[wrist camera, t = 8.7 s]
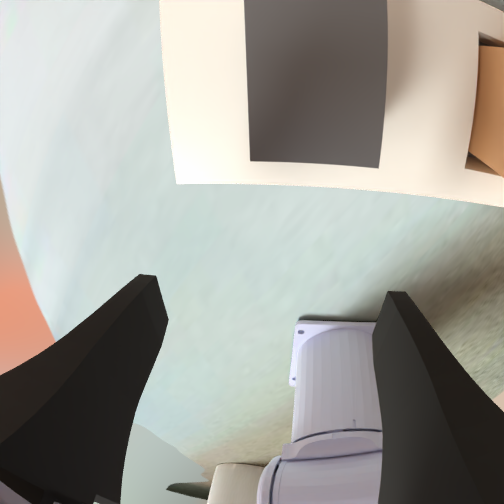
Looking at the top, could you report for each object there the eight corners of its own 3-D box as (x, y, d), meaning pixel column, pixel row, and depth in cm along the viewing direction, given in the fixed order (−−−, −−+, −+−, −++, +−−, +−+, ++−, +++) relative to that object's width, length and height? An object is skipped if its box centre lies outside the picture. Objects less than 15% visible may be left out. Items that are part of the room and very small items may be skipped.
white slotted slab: (548, 55, 8) (624, 78, 2) (528, 192, 14) (587, 251, 8) (185, -11, 11) (116, -43, 5) (197, 159, 17) (145, 221, 11)
